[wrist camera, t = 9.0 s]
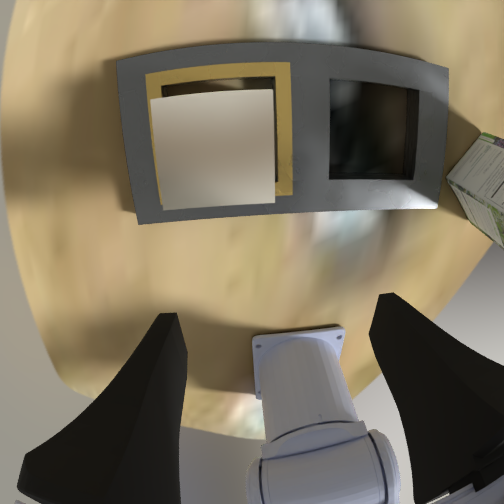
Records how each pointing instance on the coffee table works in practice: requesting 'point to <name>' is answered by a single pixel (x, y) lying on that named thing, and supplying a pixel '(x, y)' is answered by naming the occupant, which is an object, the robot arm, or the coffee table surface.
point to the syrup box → (482, 186)
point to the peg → (215, 148)
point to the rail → (292, 124)
